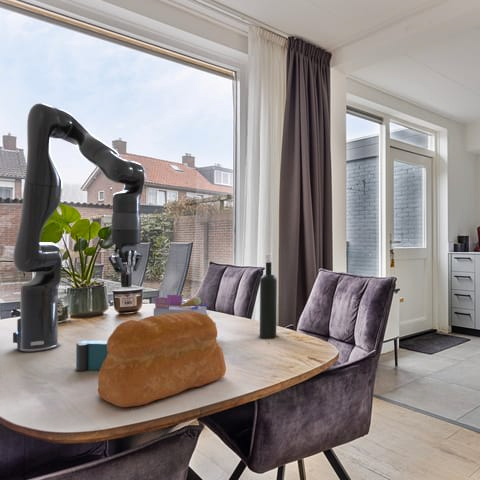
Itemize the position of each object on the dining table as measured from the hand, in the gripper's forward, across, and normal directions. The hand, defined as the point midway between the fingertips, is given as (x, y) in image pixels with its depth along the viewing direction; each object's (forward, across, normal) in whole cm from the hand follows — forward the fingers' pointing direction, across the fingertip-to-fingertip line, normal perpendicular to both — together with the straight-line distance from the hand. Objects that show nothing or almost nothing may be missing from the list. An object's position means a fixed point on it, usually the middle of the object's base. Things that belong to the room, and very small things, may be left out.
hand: (126, 286), depth 120 cm
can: (+21, -29, +2) cm, 36 cm away
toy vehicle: (+21, -20, +8) cm, 30 cm away
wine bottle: (+21, -27, +35) cm, 49 cm away
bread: (+21, +22, +24) cm, 39 cm away
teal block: (+21, +10, 0) cm, 23 cm away
